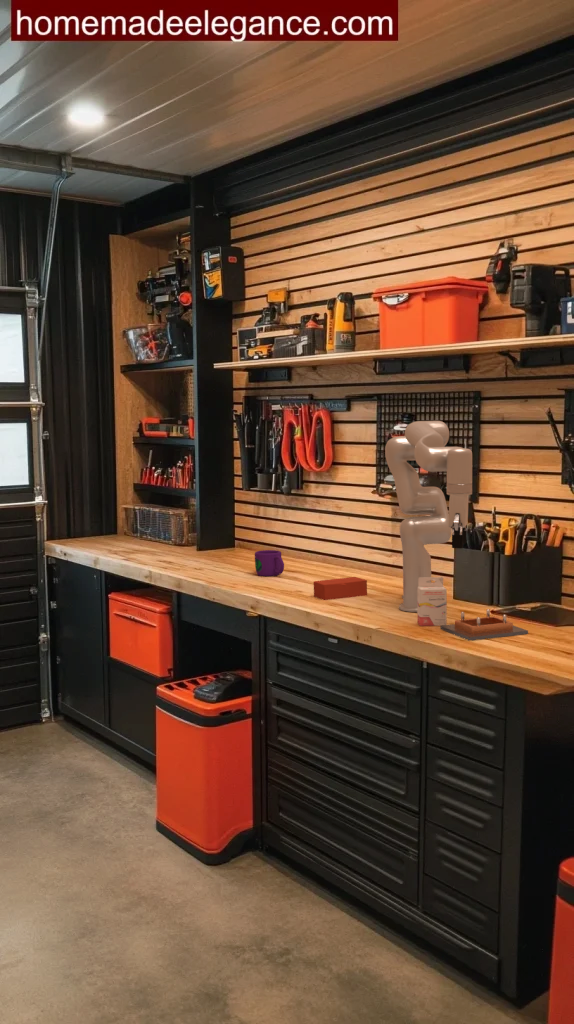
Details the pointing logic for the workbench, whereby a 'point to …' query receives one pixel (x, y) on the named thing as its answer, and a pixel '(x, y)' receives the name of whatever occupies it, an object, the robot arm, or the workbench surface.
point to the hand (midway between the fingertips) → (459, 545)
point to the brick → (340, 588)
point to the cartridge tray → (483, 627)
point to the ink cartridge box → (432, 602)
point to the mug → (268, 563)
